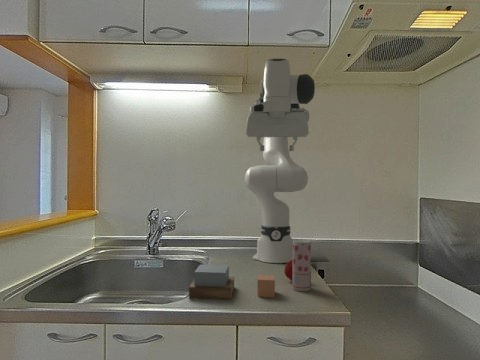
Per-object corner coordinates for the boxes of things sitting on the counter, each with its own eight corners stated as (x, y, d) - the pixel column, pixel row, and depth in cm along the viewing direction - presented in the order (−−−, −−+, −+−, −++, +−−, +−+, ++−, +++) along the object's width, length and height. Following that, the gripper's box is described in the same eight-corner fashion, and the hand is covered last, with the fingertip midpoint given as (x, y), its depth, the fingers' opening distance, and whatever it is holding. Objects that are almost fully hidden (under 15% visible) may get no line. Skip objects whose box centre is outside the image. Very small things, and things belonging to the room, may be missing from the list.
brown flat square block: (196, 288, 124) (196, 275, 124) (234, 289, 124) (234, 276, 123) (189, 301, 112) (189, 287, 112) (230, 302, 112) (231, 288, 111)
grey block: (200, 277, 123) (200, 264, 123) (228, 278, 122) (228, 265, 122) (194, 285, 114) (194, 271, 114) (225, 286, 113) (225, 272, 113)
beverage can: (288, 287, 124) (289, 239, 123) (304, 285, 126) (304, 238, 126) (298, 292, 118) (299, 243, 118) (314, 290, 121) (314, 241, 120)
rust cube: (257, 291, 120) (257, 275, 119) (274, 292, 119) (274, 275, 119) (257, 296, 115) (257, 279, 114) (274, 297, 114) (274, 280, 114)
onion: (288, 284, 127) (288, 259, 127) (281, 279, 132) (281, 256, 132) (304, 283, 128) (305, 258, 128) (297, 278, 134) (297, 255, 134)
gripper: (308, 109, 130) (307, 151, 130) (246, 110, 131) (246, 151, 131) (310, 106, 124) (310, 150, 124) (245, 106, 125) (245, 150, 125)
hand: (276, 151), depth 128 cm, fingers open, 8 cm apart
